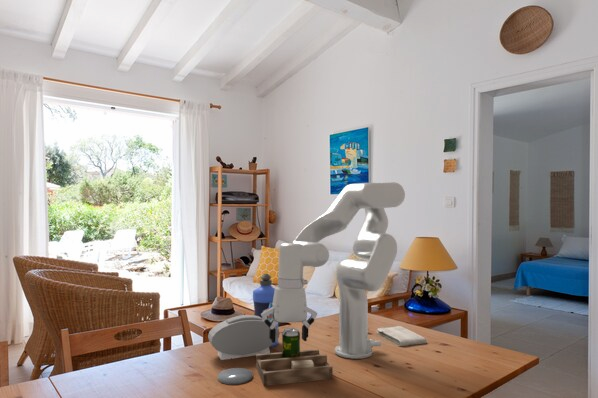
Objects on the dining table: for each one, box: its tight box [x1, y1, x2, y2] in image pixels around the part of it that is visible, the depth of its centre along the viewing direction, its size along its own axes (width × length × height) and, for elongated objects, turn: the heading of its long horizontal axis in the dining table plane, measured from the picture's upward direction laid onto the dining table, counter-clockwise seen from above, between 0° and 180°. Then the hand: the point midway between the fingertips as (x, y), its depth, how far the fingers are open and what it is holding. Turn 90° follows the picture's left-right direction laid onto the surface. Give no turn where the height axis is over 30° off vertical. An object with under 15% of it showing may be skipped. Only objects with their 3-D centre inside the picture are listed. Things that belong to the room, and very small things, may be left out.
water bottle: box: [252, 273, 279, 349], centre depth 157 cm, size 9×9×25 cm
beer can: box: [281, 327, 301, 358], centre depth 132 cm, size 5×5×12 cm
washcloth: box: [375, 325, 427, 347], centre depth 163 cm, size 12×18×3 cm, turn 21°
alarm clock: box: [207, 314, 281, 361], centre depth 145 cm, size 23×6×13 cm, turn 113°
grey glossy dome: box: [217, 367, 254, 385], centre depth 126 cm, size 10×10×1 cm
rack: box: [255, 348, 333, 387], centre depth 129 cm, size 20×14×5 cm
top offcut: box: [291, 360, 314, 369], centre depth 126 cm, size 6×3×2 cm, turn 100°
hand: (288, 340), depth 131 cm, fingers open, 9 cm apart
